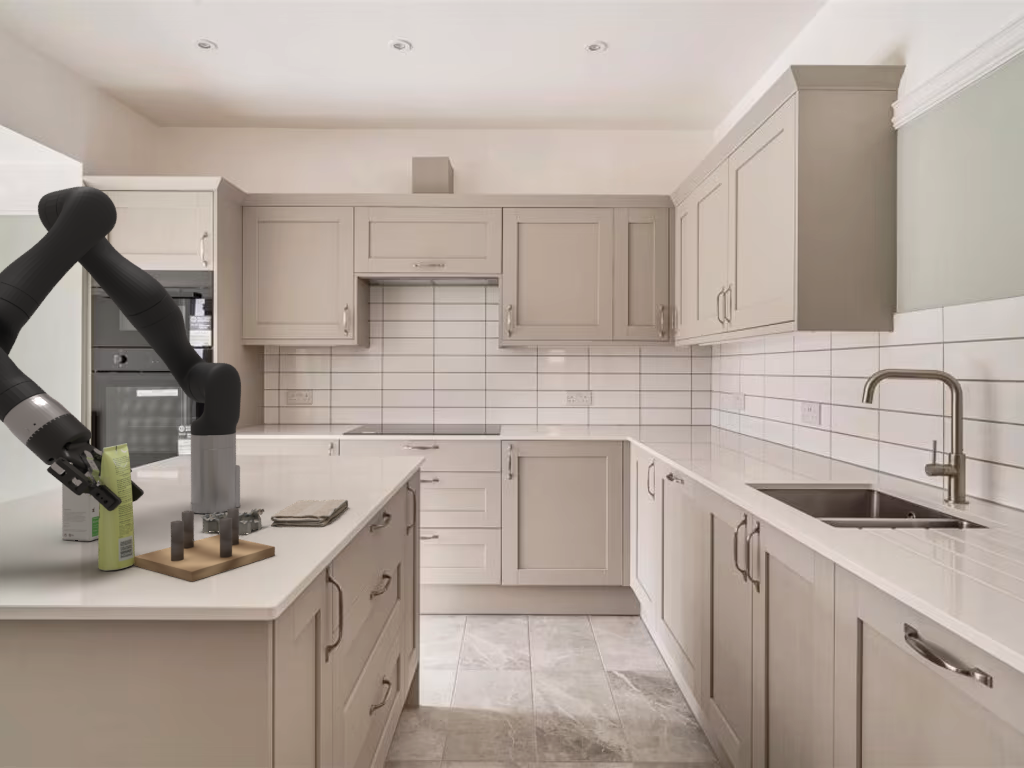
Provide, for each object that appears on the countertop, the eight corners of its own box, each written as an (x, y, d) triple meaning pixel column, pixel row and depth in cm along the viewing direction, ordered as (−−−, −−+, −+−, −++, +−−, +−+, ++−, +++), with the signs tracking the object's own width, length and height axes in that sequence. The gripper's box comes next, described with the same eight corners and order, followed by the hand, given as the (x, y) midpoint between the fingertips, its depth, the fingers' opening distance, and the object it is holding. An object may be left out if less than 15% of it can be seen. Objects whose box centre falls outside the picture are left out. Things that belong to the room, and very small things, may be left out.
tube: (92, 566, 97) (91, 444, 97) (128, 558, 101) (127, 442, 100) (103, 574, 93) (103, 447, 93) (140, 566, 97) (139, 445, 97)
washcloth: (267, 529, 122) (267, 514, 122) (297, 509, 140) (297, 496, 140) (327, 529, 122) (327, 514, 122) (349, 509, 140) (349, 496, 140)
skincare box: (89, 542, 110) (88, 457, 110) (59, 540, 112) (58, 456, 111) (126, 530, 119) (126, 451, 118) (98, 528, 120) (98, 450, 120)
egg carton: (267, 528, 122) (267, 508, 122) (241, 538, 115) (241, 517, 115) (223, 524, 125) (223, 504, 125) (195, 533, 118) (195, 512, 118)
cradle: (218, 542, 111) (218, 502, 110) (274, 555, 103) (274, 511, 103) (134, 565, 97) (133, 519, 97) (191, 581, 90) (191, 531, 90)
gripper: (35, 415, 89) (122, 494, 90) (92, 409, 103) (166, 477, 104) (-4, 451, 88) (84, 530, 90) (59, 440, 102) (134, 508, 104)
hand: (128, 501), depth 97 cm, fingers closed on tube, 6 cm apart
